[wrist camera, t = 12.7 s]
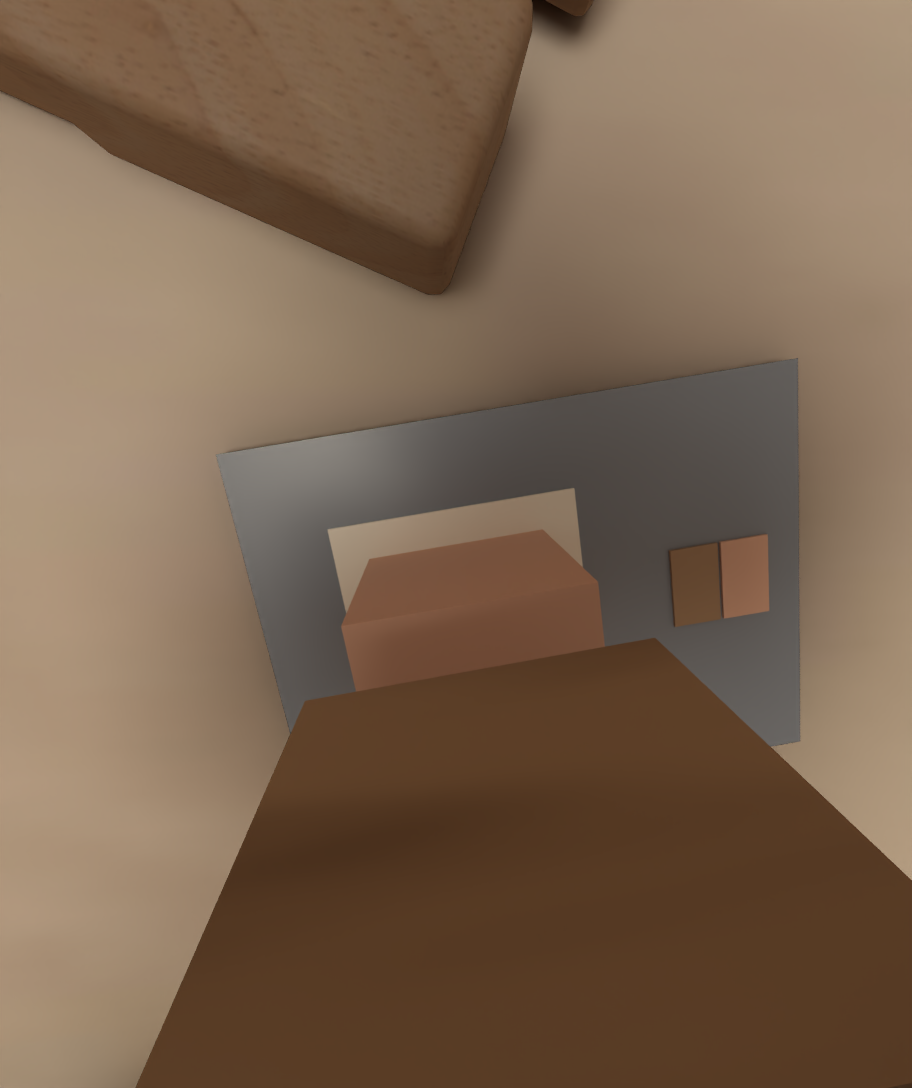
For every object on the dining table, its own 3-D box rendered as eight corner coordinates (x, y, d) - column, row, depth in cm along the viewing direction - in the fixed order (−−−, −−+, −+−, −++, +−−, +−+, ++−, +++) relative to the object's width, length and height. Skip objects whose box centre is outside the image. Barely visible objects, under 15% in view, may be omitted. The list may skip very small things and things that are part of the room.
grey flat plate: (787, 730, 18) (802, 743, 17) (318, 813, 18) (314, 828, 17) (783, 360, 15) (800, 358, 14) (224, 453, 15) (214, 455, 14)
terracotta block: (562, 686, 16) (620, 801, 11) (402, 714, 16) (390, 842, 11) (542, 529, 15) (598, 581, 10) (369, 558, 15) (341, 626, 10)
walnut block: (678, 918, 9) (1008, 1566, 4) (376, 974, 9) (309, 1711, 4) (654, 638, 7) (1090, 1050, 3) (305, 701, 7) (65, 1246, 2)
